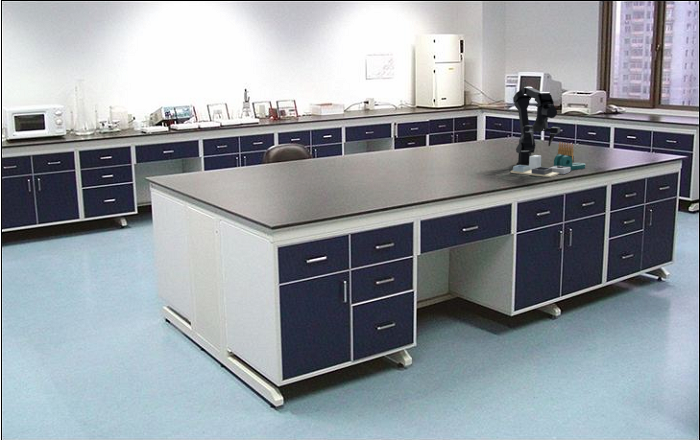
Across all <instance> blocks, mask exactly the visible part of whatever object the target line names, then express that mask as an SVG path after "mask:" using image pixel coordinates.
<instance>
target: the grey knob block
mask: <svg viewBox="0 0 700 440" xmlns="http://www.w3.org/2000/svg"><path fill="white" fill-rule="evenodd" d="M550 168H552V172H556V173H559V174H560V175H565V174H568V173H571V171H572V170H571V167H564V166H554V165H553V166H551V167H550ZM559 174H558V175H559Z"/></svg>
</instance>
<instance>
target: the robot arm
mask: <svg viewBox="0 0 700 440" xmlns="http://www.w3.org/2000/svg"><path fill="white" fill-rule="evenodd" d="M532 98H533V99H534V101H535V102H536V105H535V108H536V118H535V122H534V123H533V124H531V125H530V121H529V115H528V114H529V112H528V108H529V105H530V101H531V99H532ZM513 104H514V107H515V108H516V110H517V111H518V112H517V113H518V119H519V128H520V138H519V140H518V145H517V146H516V148H515V151H516V153H517V154H518V160H517V162H516V164H517V165H525V166H529V157H530V156H533V155H532V154H533V153H535V149H536V141H535V136H534V132H539V133H540V132H541V133H542V132H549V134H548V137H549V138H548V147H550V146H551V144H552V142H553V140H554V138H555V136H556V135H558V134H560V133H561V127H560V126H552V127H549V125H548V120H549V119H553V118H555V117H556V116H557V115H558V110H557V108H556V107H555V101H554V99H553V97H552V94H551V92H550V91H540V90H538V89H536V88H534V87H532V86H523V87H522V88H521V89H520V90H518V91H517V92H516V93H515V95H513Z"/></svg>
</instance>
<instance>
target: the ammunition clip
mask: <svg viewBox="0 0 700 440" xmlns="http://www.w3.org/2000/svg"><path fill="white" fill-rule="evenodd" d="M559 154H560V155H564V156H565V155H566V156H570V157H571V158H572V160H573V163H575V161H574V159H575V158H574V157H575V156H574V143H568V142H563V141H562V142H561V141H559V142H558V149H557V154H556V156H557V155H559Z"/></svg>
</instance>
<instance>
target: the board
mask: <svg viewBox="0 0 700 440" xmlns="http://www.w3.org/2000/svg"><path fill="white" fill-rule="evenodd" d="M510 173H511V174H512V173H513V174H518V175H519V174H521V175H529V176H536V177H545V178H552V177H555V176H557V175H558V176H559V173H556V172H551V173H548V174H545V175H542V174H533V173H532V170H531V169H530V170H528V171H525V172H519V171H513V170H510Z"/></svg>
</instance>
